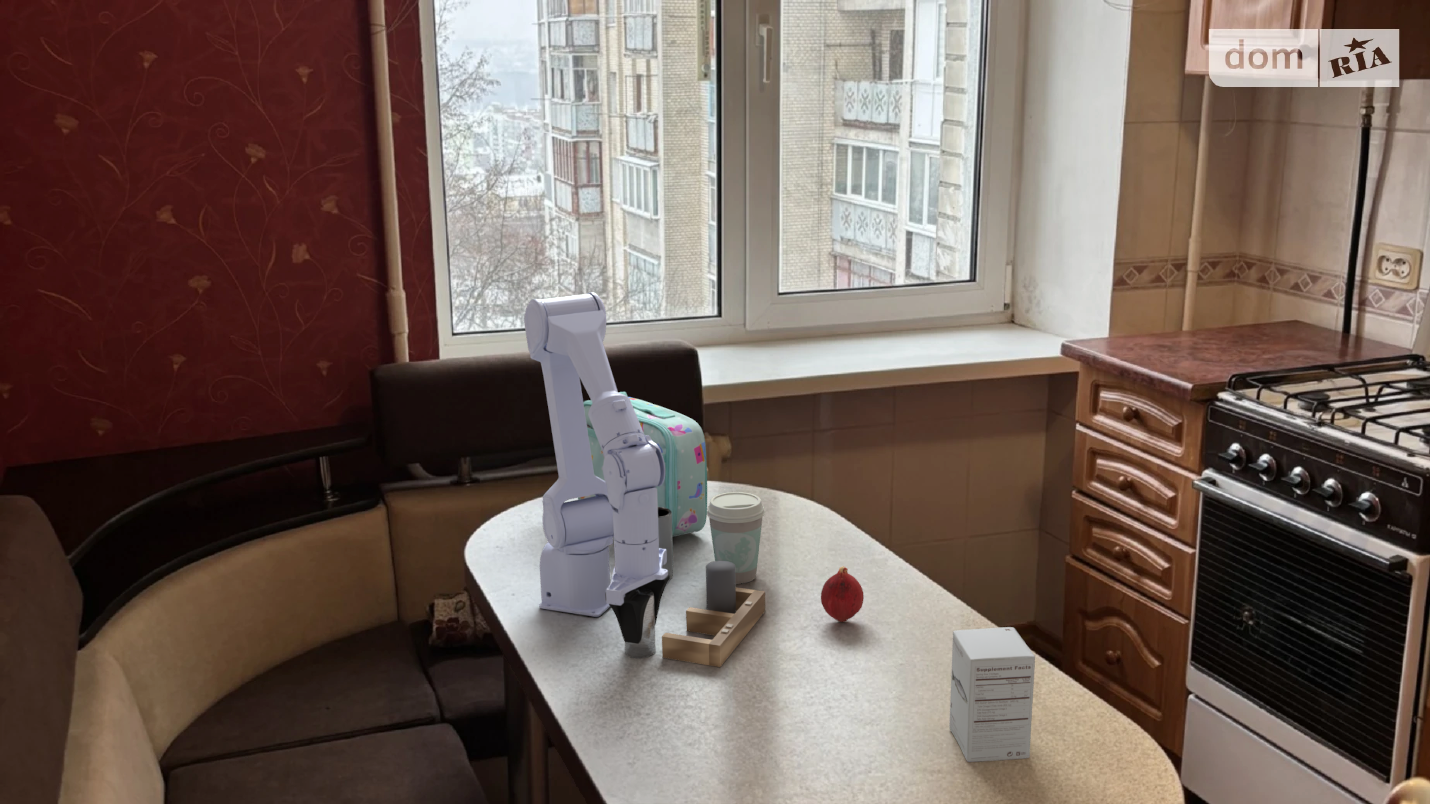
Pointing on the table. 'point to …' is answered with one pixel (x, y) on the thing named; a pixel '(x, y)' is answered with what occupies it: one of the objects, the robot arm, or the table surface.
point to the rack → (715, 630)
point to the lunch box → (669, 462)
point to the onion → (842, 596)
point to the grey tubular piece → (666, 536)
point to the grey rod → (644, 631)
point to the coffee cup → (737, 531)
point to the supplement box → (991, 694)
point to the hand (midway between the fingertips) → (639, 634)
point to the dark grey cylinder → (721, 586)
